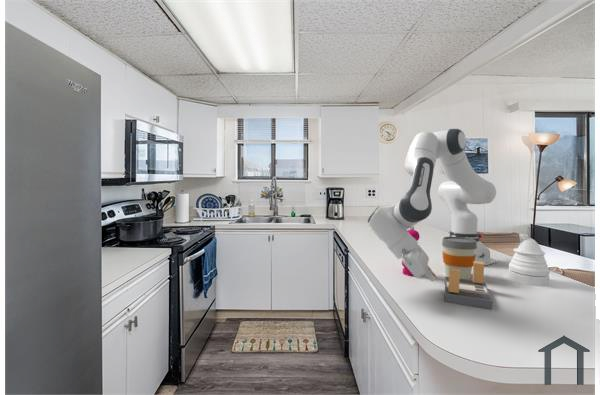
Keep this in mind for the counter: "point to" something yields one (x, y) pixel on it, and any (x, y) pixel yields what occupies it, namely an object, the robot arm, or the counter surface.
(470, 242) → the reusable coffee cup
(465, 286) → the switch panel
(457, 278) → the slider
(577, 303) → the counter surface
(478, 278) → the slider
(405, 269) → the pepper mill
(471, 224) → the robot arm
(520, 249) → the honey pot
